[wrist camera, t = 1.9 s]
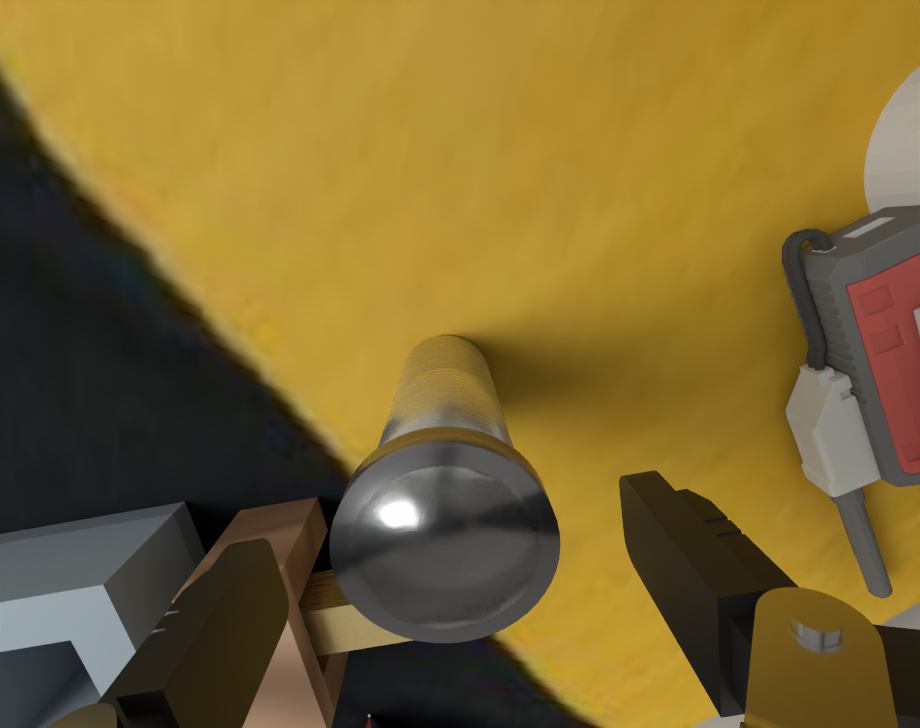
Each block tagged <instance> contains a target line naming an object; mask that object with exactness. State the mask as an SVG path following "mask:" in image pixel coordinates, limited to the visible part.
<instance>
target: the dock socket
mask: <svg viewBox="0 0 920 728" xmlns="http://www.w3.org/2000/svg"><path fill="white" fill-rule="evenodd" d="M205 556H206V553H205V550H204V548H203V546H202V543H201V541H200V538H199V536H198V533H197V531H196V528H195V526H194V523H193V521H192V518H191V516H190V513H189V511H188V508H187V506H186V503H185V502H181V503H175V504H169V505H163V506H158V507H152V508H146V509H140V510H135V511H129V512H123V513H118V514H112V515H106V516H100V517H95V518H89V519H83V520H77V521H72V522H66V523H60V524H55V525H49V526H43V527H37V528H32V529H26V530H20V531H14V532H9V533H3V534H0V728H46V727H48V726H49V725H51V724H52V723H53V722H55V721H57V720H58V719H60V718H61V717H63V716H65V715H67V714H68V713H70V712H72V711H74V710H77V709H79V708H81V707H84V706H87V705H90V704H95V703H97V702H98V701H99V700H100V698H101V697H102V696H103V694H104V693H105V692H106V690H107V689H108V688H109V686H110V685H111V684H112V683H113V681H114V680H115V679H116V677H117V676H118V675H119V673H120V672H121V671H122V669H123V668H124V667H125V666H126V664H127V663H128V662H129V660H130V659H131V658H132V656H133V655H134V654H135V652H136V651H137V650H138V649H139V647H140V646H141V645H142V643H143V642H144V641H145V639H146V638H147V637H148V635H151V634H152V633H153V629H154V628H155V626H156V625H157V624H158V622H159V621H160V620H161V618H162V617H163V616H166V614H167V613H166V612H167V611H168V609H169V608H170V607H171V605H172V604H173V603H172V600H173V599H174V597H175V596H176V595H177V593H178V592H179V591H180V589H181V588H182V587H183V585H184V584H185V583H186V581H187V580H188V579H189V577H190V576H191V575H192V573H193V572H194V571H195V569H196V568H197V567H198V565H199V564H200V563H201V561H202V560H203V559H204V557H205Z"/></svg>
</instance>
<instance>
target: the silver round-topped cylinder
mask: <svg viewBox="0 0 920 728" xmlns="http://www.w3.org/2000/svg"><path fill="white" fill-rule="evenodd" d="M329 551H330V561H331V565H332V570H333V573H334V575H335V578H336V581H337V583H338V585H339V587H340V588H341V590H342V592H343V594H344V595H345V596H346V598H347V599H348V600H349V602H350V603H351V604H352V605H353V606H354V607H355V608H356V609H357V610H358V611H359V612H360V613H361V614H362V615H363V616H364V617H366V618H367V619H368V620H370V621H371V622H372V623H374V624H376V625H377V626H379V627H381V628H383V629H384V630H387V631H389V632H391V633H393V634H396V635H399V636H402V637H405V638H408V639H412V640H417V641H422V642H431V643H456V642H465V641H470V640H474V639H479V638H482V637H485V636H488V635H491V634H494V633H496V632H498V631H500V630H502V629H505V628H506V627H508V626H510V625H511V624H513V623H515V622H516V621H518V620H519V619H520V618H521V617H523V616H524V615H525V614H527V613H528V612H529V611H530V610H531V609H532V608H533V607H534V606H535V605H536V604H537V603H538V601H539V600H540V599H541V598H542V596H543V595H544V594H545V592H546V590H547V589H548V587H549V585H550V584H551V582H552V579H553V577H554V574H555V572H556V569H557V565H558V561H559V554H560V533H559V528H558V524H557V520H556V517H555V514H554V512H553V509H552V507H551V504H550V501H549V499H548V496H547V494H546V491H545V488H544V486H543V483H542V481H541V479H540V477H539V476H538V474H537V472H536V471H535V469H534V468H533V467H532V465H531V464H530V463H529V462H528V460H526V459H525V458H524V457H523V456H522V455H521V454H520V453H519V452H518V451H517V450H515V449H514V447H513V444H512V441H511V438H510V435H509V431H508V428H507V425H506V422H505V419H504V415H503V412H502V409H501V406H500V403H499V399H498V396H497V393H496V390H495V387H494V384H493V380H492V377H491V374H490V371H489V368H488V364H487V362H486V359H485V357H484V356H483V354H482V353H481V351H480V350H479V349H478V348H477V347H476V346H475V345H474V344H472V343H471V342H469V341H468V340H466V339H463V338H461V337H457V336H452V335H441V336H436V337H432V338H429V339H427V340H425V341H423V342H422V343H420V344H419V345H418V346H417V347H416V348H415V349H414V350H413V351H412V352H411V354H410V355H409V357H408V359H407V361H406V364H405V367H404V370H403V373H402V376H401V379H400V382H399V385H398V388H397V391H396V394H395V397H394V400H393V403H392V407H391V410H390V413H389V416H388V419H387V422H386V425H385V428H384V431H383V434H382V437H381V440H380V443H379V446H378V449H376V450H375V451H374V452H372V453H371V454H370V455H369V456H368V457H367V458H366V459H365V460H364V461H363V462H362V463H361V465H360V466H359V467H358V468H357V470H356V471H355V473H354V474H353V476H352V478H351V479H350V481H349V483H348V485H347V488H346V490H345V493H344V495H343V498H342V500H341V503H340V505H339V508H338V510H337V513H336V515H335V518H334V520H333V524H332V528H331V532H330V542H329Z"/></svg>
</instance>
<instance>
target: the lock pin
mask: <svg viewBox="0 0 920 728" xmlns="http://www.w3.org/2000/svg"><path fill="white" fill-rule="evenodd" d="M298 606H299V609H300V612H301V615H302V618H303V621H304V624H305V627H306V629H307V632H308V635H309V638H310V641H311V644H312V647H313V650H314V653H315V655H316V656H321V655H327V654H333V653H339V652H345V651H351V650H358V649H364V648H370V647H376V646H382V645H388V644H394V643H400V642H406V641H412V639H408V638H405V637H402V636H399V635H396V634H393V633H391V632H389V631H387V630H384V629H383V628H381V627H379V626H377V625H376V624H374V623H372V622H371V621H370V620H368V619H367V618H366V617H364V616H363V615H362V614H361V613H360V612H359V611H358V610H357V609H356V608H355V607H354V606H353V605H352V604H351V603H350V602H349V600H348V599H347V598H346V596H345V595H344V594H343V592H342V590H341V588H340V587H339V585H338V583H337V581H336V578H335V575H334V573H333V570H326V571H321V572H315V573H311V574H310V576H309V579H308V581H307V584H306V586H305V589H304V591H303V593H302V596H301V598H300V601H299V603H298Z"/></svg>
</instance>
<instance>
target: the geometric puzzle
mask: <svg viewBox="0 0 920 728" xmlns="http://www.w3.org/2000/svg"><path fill="white" fill-rule="evenodd" d="M370 716H371V715H370V714H369V715H368V717H367V718H366V719H367V721H366V724H365V726H364V728H371V723H370V718H372V717H370ZM366 719H365V720H366ZM372 719H373V718H372ZM365 720H364V721H365ZM373 720H374V721H376V720H375V719H373ZM364 721H363V722H364ZM363 722H362V723H363ZM376 722H377V721H376ZM362 723H361V724H362ZM377 723H378V724H380V723H379V722H377ZM361 724H360V725H361ZM360 725H359V726H360ZM380 725H381V724H380ZM359 726H358V727H359ZM381 726H383V725H381ZM358 727H357V728H358ZM383 727H384V726H383ZM384 728H385V727H384Z"/></svg>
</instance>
